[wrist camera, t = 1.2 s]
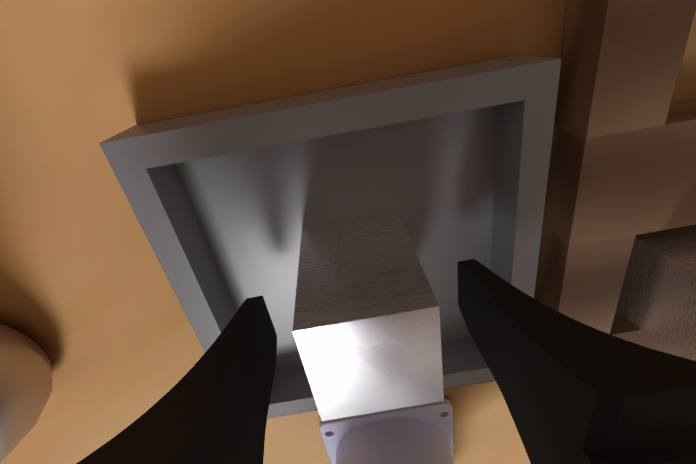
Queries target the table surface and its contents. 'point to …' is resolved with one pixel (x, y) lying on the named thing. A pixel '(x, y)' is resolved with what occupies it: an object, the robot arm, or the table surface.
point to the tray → (347, 193)
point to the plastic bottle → (21, 387)
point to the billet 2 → (663, 289)
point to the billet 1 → (366, 318)
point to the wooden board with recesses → (615, 154)
